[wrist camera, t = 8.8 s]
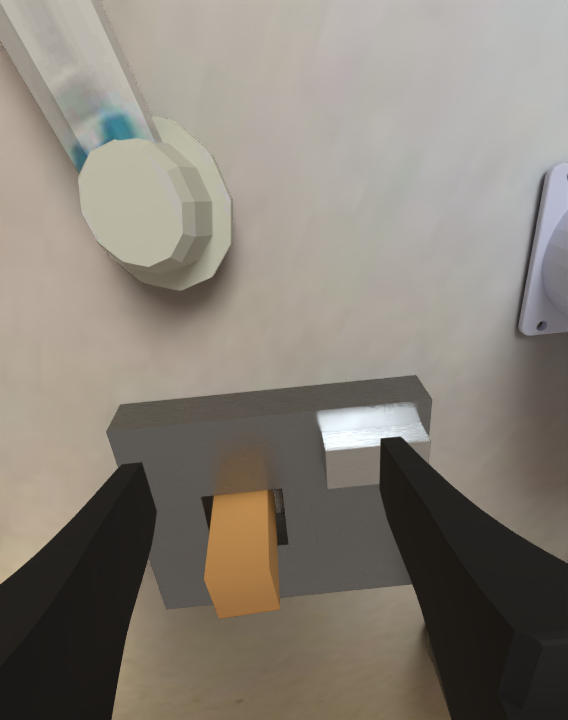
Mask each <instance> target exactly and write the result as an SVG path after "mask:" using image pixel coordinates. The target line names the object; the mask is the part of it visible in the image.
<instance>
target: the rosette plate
mask: <svg viewBox="0 0 568 720" xmlns="http://www.w3.org/2000/svg"><path fill="white" fill-rule="evenodd" d="M431 406H432V398H431V397H430V395H429V394H428V392H427V391H426V389H425V388H424V386H423V385H422V383H421V382H420V380H419V379H418V377H417V376H416V375H415V376H405V377H395V378H385V379H375V380H365V381H355V382H345V383H335V384H324V385H314V386H304V387H294V388H284V389H274V390H264V391H254V392H244V393H234V394H224V395H213V396H203V397H193V398H183V399H173V400H163V401H153V402H143V403H133V404H123V405H120V406H119V408H118V410H117V412H116V414H115V416H114V418H113V420H112V422H111V423H110V425H109V427H108V429H107V431H106V433H107V436H108V439H109V442H110V445H111V448H112V451H113V453H114V456H115V459H116V462H117V465H118V468H119V467H120V466H121V465H122V464H129V463H139V462H142V464H143V467H144V470H145V473H146V477H147V480H148V483H149V487H150V490H151V493H152V497H153V500H154V503H155V506H156V510H157V516H156V523H155V530H154V536H153V542H152V546H151V550H150V554H149V560H150V563H151V566H152V569H153V572H154V575H155V577H156V580H157V583H158V586H159V589H160V592H161V595H162V598H163V601H164V604H165V607H166V609H175V608H184V607H194V606H204V605H214V604H213V602H212V599H211V596H210V594H209V591H208V589H207V586H206V583H205V581H204V574H205V565H206V557H207V549H208V541H209V533H210V524H211V516H212V508H213V498H212V496H213V495H223V494H233V493H242V492H252V491H262V490H272V489H282V492H283V501H284V509H285V513H281V514H276V530H277V551H278V572H279V594H280V598H282V597H292V596H302V595H312V594H321V593H331V592H341V591H351V590H360V589H370V588H380V587H390V586H400V585H409V584H412V582H411V579H410V577H409V574H408V572H407V569H406V567H405V564H404V562H403V559H402V557H401V554H400V552H399V549H398V546H397V544H396V541H395V539H394V536H393V534H392V531H391V528H390V526H389V523H388V521H387V517H386V513H385V510H384V506H383V502H382V498H381V494H380V490H379V481H380V438H388V437H398V436H401V437H402V438H403V439H404V440H405V441H406V442H407V443H408V444H409V445H410V446H411V447H412V448H413V449H414V450H415V451H416V452H417V453H418V454H419V455H420V456H421V457H422V458H423V459H424V460H425V461H426V462H427V463H428V464H429V455H430V444H431V440H430V438H429V429H430V418H431Z"/></svg>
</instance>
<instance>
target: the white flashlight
mask: <svg viewBox="0 0 568 720" xmlns="http://www.w3.org/2000/svg"><path fill="white" fill-rule="evenodd" d="M0 41H1V43H2V44H3V46H4V48H5V50H6V51H7V53H8V55H9V56H10V58H11V60H12V61H13V63H14V65H15V66H16V68H17V70H18V71H19V73H20V75H21V77H22V78H23V80H24V82H25V83H26V85H27V87H28V88H29V90H30V92H31V93H32V95H33V97H34V99H35V100H36V102H37V104H38V105H39V107H40V109H41V110H42V112H43V114H44V115H45V117H46V119H47V121H48V122H49V124H50V126H51V127H52V129H53V131H54V132H55V134H56V136H57V137H58V139H59V141H60V142H61V144H62V146H63V148H64V149H65V151H66V153H67V154H68V156H69V158H70V159H71V161H72V163H73V164H74V166H75V168H76V170H77V171H78V173H79V176H78V185H79V194H80V203H81V212H82V214H83V216H84V218H85V220H86V222H87V223H88V225H89V227H90V229H91V231H92V232H93V234H94V236H95V238H96V240H97V241H98V243H99V245H100V246H101V247H102V248H104V249H105V250H106V251H107V253H108V255H109V256H110V257H111V258H112V259H113V260H115V261H116V262H117V263H118V264H120V265H121V266H122V267H123V268H125V269H126V270H127V271H128V272H130V273H131V274H132V275H133V276H135V277H136V278H137V279H138V280H140V281H141V282H142V283H143V284H148V285H153V286H158V287H163V288H168V289H173V290H178V291H182V290H184V289H186V288H189V287H191V286H193V285H195V284H198V283H200V282H202V281H204V280H207V279H209V278H211V277H213V276H214V275H215V273H216V271H217V270H218V268H219V266H220V264H221V263H222V261H223V259H224V257H225V255H226V254H227V252H228V250H229V248H230V247H231V245H232V243H233V199H232V197H231V195H230V192H229V190H228V188H227V185H226V183H225V181H224V179H223V176H222V174H221V172H220V170H219V167H218V165H217V163H216V160H215V158H214V156H213V155H212V154H211V153H210V152H209V151H208V150H207V149H206V148H204V147H203V146H202V145H201V144H200V143H199V142H198V141H197V140H196V139H195V138H194V137H192V136H191V135H190V134H189V133H188V132H187V131H186V130H185V129H184V128H183V127H182V126H180V125H179V124H178V123H177V122H176V121H174V120H170V119H165V118H161V117H157V116H152V115H150V113H149V110H148V108H147V106H146V104H145V101H144V99H143V97H142V95H141V92H140V90H139V88H138V86H137V83H136V81H135V79H134V77H133V74H132V72H131V70H130V68H129V65H128V63H127V61H126V59H125V56H124V54H123V52H122V50H121V47H120V45H119V43H118V41H117V38H116V36H115V34H114V32H113V29H112V27H111V25H110V23H109V20H108V18H107V16H106V14H105V11H104V9H103V7H102V5H101V2H100V0H0Z"/></svg>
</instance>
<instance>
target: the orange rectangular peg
mask: <svg viewBox="0 0 568 720" xmlns="http://www.w3.org/2000/svg"><path fill="white" fill-rule="evenodd" d="M204 581H205V583H206V586H207V589H208V591H209V594H210V596H211V599H212V602H213V604H214V607H215V609H216V612H217V615H218V617H219V619H221V618H228V617H234V616H241V615H247V614H254V613H260V612H267V611H273V610H280V594H279V572H278V551H277V530H276V509H275V498H274V494H273V490H262V491H252V492H242V493H233V494H223V495H214V500H213V508H212V516H211V524H210V533H209V541H208V549H207V557H206V565H205V574H204Z"/></svg>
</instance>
